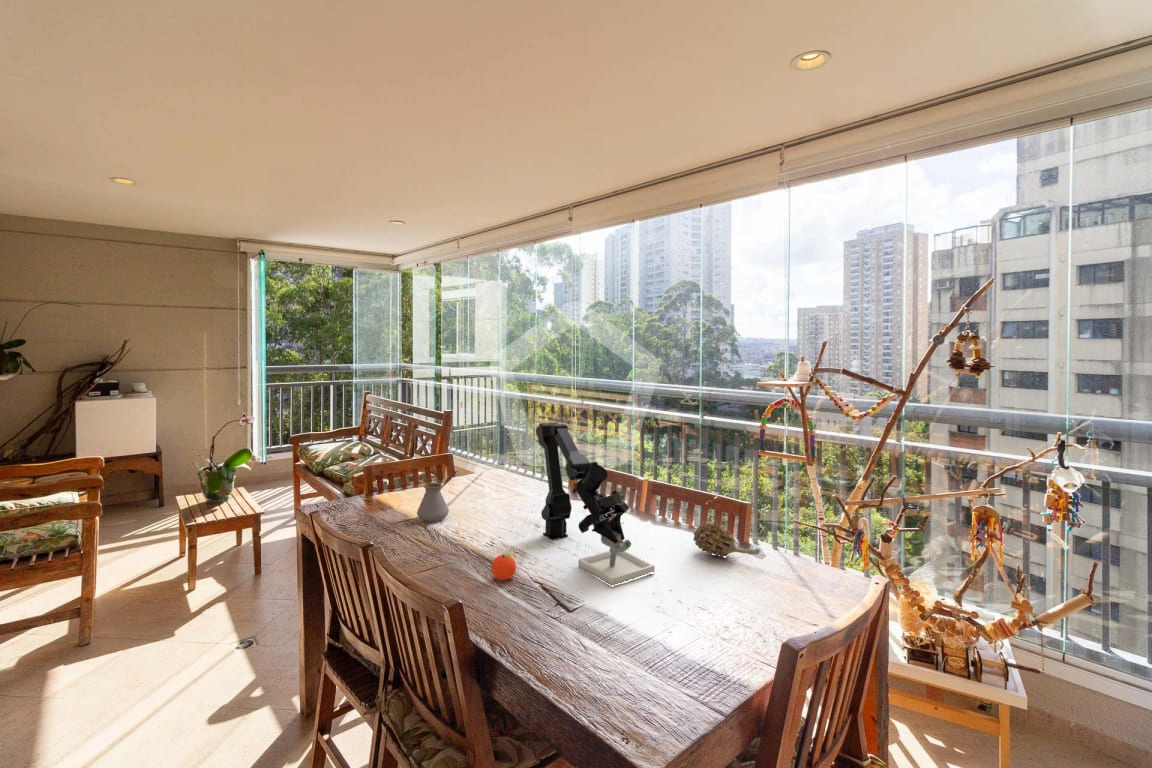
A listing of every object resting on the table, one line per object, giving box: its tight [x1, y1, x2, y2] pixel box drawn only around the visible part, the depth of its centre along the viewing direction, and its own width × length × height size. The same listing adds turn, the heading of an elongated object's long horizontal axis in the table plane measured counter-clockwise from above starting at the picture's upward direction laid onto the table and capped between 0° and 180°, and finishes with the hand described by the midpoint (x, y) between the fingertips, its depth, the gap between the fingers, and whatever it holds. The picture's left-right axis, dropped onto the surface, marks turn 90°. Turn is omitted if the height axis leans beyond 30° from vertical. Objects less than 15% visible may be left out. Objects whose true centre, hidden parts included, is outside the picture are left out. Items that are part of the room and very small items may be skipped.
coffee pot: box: [416, 470, 460, 523], centre depth 211 cm, size 21×12×15 cm, turn 157°
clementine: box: [491, 553, 517, 581], centre depth 159 cm, size 8×7×7 cm
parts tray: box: [577, 550, 655, 586], centre depth 166 cm, size 16×16×2 cm
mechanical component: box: [600, 531, 632, 567], centre depth 166 cm, size 3×10×10 cm, turn 50°
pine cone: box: [693, 522, 761, 557], centre depth 176 cm, size 22×10×10 cm, turn 56°
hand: (620, 541), depth 164 cm, fingers closed on mechanical component, 3 cm apart
